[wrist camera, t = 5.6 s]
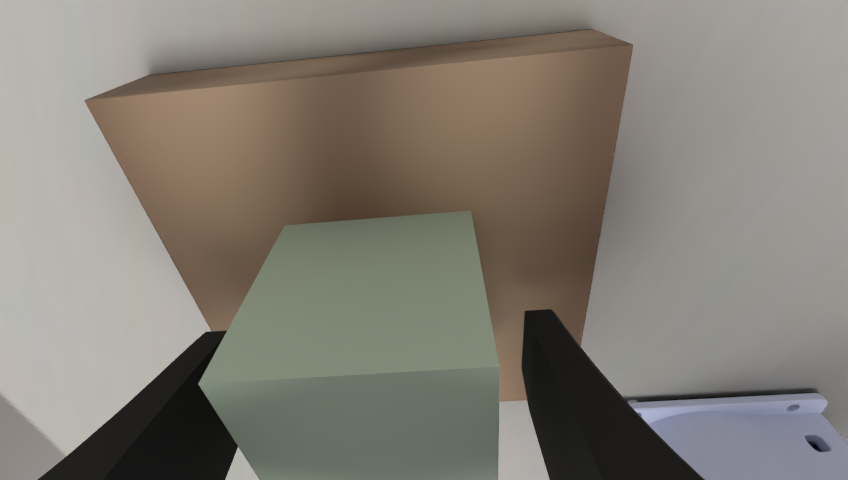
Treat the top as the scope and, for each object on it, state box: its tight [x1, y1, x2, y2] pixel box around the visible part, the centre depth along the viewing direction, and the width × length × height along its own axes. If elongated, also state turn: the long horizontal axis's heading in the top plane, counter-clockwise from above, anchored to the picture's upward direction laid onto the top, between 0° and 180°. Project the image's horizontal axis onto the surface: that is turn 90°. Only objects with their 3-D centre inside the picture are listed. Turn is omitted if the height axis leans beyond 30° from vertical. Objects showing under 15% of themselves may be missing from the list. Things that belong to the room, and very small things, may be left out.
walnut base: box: [84, 29, 633, 402], centre depth 13 cm, size 12×12×2 cm
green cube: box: [198, 211, 500, 480], centre depth 10 cm, size 5×5×5 cm
